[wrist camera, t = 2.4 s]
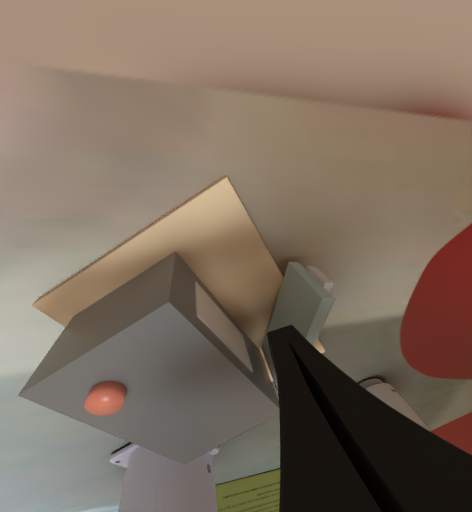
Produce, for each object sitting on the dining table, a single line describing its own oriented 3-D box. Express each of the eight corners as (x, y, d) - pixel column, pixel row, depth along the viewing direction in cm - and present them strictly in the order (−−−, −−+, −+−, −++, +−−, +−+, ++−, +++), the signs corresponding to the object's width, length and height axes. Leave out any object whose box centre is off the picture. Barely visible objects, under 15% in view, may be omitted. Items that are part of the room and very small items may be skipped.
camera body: (267, 357, 19) (294, 427, 14) (194, 399, 20) (196, 480, 15) (176, 250, 13) (169, 310, 8) (73, 316, 14) (7, 410, 9)
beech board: (321, 346, 21) (325, 351, 21) (206, 411, 22) (206, 418, 22) (225, 176, 12) (226, 177, 12) (38, 298, 13) (31, 305, 13)
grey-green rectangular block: (276, 349, 19) (299, 401, 15) (260, 350, 18) (279, 404, 14) (307, 258, 15) (349, 296, 11) (288, 257, 15) (324, 296, 11)
